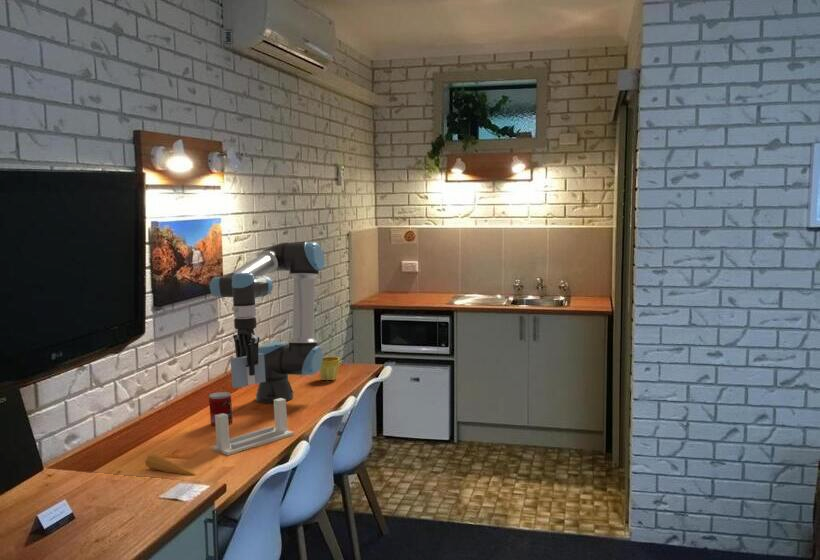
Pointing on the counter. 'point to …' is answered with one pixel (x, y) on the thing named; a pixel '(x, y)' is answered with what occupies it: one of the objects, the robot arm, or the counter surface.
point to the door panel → (241, 374)
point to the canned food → (220, 405)
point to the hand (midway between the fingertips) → (248, 383)
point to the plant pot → (329, 368)
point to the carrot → (165, 465)
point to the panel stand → (252, 438)
